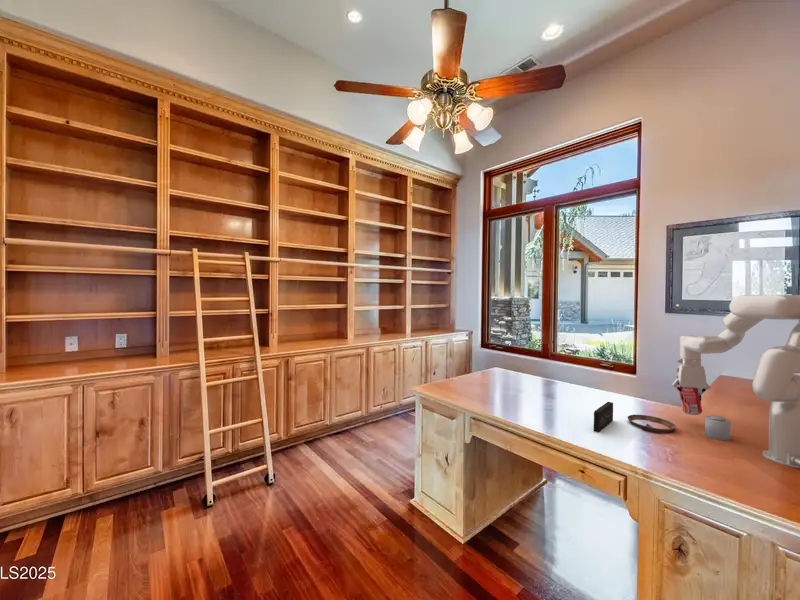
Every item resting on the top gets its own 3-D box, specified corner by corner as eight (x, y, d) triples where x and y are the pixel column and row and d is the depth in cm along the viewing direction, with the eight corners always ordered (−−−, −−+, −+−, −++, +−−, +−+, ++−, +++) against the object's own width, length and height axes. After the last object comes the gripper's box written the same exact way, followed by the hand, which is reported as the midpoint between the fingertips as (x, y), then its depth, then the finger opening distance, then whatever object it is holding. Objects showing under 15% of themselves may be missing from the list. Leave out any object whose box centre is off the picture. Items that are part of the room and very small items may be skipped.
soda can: (706, 415, 155) (701, 386, 156) (687, 416, 157) (683, 387, 157) (697, 409, 162) (692, 382, 163) (679, 410, 164) (675, 383, 164)
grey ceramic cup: (735, 443, 141) (735, 421, 140) (711, 440, 143) (711, 419, 143) (723, 435, 148) (723, 415, 148) (700, 433, 151) (701, 413, 150)
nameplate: (608, 422, 164) (608, 401, 164) (612, 423, 162) (613, 402, 162) (593, 434, 149) (593, 411, 149) (598, 435, 148) (598, 412, 148)
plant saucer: (673, 425, 160) (673, 419, 160) (677, 438, 145) (677, 431, 145) (627, 418, 170) (627, 411, 170) (627, 429, 155) (627, 422, 155)
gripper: (672, 362, 158) (673, 402, 158) (717, 364, 154) (718, 405, 153) (665, 360, 165) (665, 398, 165) (707, 361, 161) (708, 401, 160)
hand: (691, 401), depth 159 cm, fingers closed on soda can, 4 cm apart
